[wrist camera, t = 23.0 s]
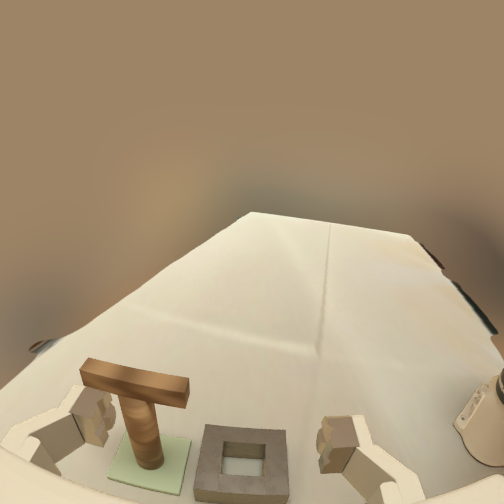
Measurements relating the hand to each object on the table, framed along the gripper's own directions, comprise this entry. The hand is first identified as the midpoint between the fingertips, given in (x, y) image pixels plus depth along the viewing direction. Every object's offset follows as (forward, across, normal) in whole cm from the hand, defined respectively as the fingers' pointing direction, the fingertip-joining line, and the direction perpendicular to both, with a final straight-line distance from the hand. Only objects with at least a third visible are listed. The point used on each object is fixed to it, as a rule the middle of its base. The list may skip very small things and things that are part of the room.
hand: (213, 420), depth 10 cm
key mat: (+15, +11, +30) cm, 35 cm away
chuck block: (+15, -2, +30) cm, 34 cm away
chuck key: (+15, +11, +29) cm, 35 cm away
